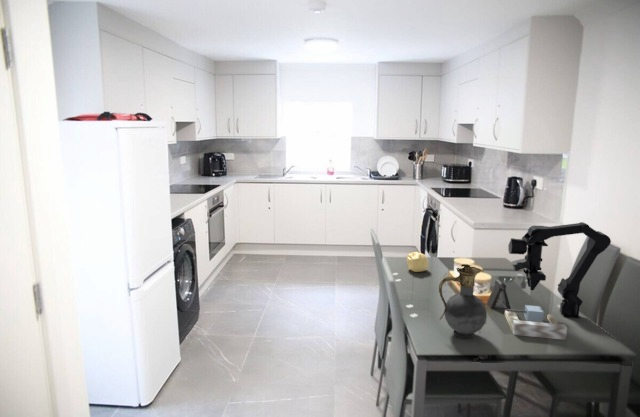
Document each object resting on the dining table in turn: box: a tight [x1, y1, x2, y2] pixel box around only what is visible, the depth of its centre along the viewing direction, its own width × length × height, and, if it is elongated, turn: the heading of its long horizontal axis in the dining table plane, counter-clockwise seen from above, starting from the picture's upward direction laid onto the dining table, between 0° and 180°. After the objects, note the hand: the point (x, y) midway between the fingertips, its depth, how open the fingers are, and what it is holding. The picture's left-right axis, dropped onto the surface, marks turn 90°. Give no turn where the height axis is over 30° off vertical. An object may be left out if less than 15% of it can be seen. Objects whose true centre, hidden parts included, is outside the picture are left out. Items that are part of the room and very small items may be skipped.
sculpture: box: [406, 251, 429, 273], centre depth 247 cm, size 11×12×11 cm
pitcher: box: [438, 263, 487, 339], centre depth 170 cm, size 11×19×30 cm, turn 93°
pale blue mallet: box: [505, 304, 545, 323], centre depth 186 cm, size 14×6×5 cm, turn 77°
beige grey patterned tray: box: [504, 309, 568, 341], centre depth 179 cm, size 19×19×5 cm
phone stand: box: [486, 278, 512, 310], centre depth 198 cm, size 9×6×12 cm, turn 85°
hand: (530, 288), depth 192 cm, fingers open, 4 cm apart
